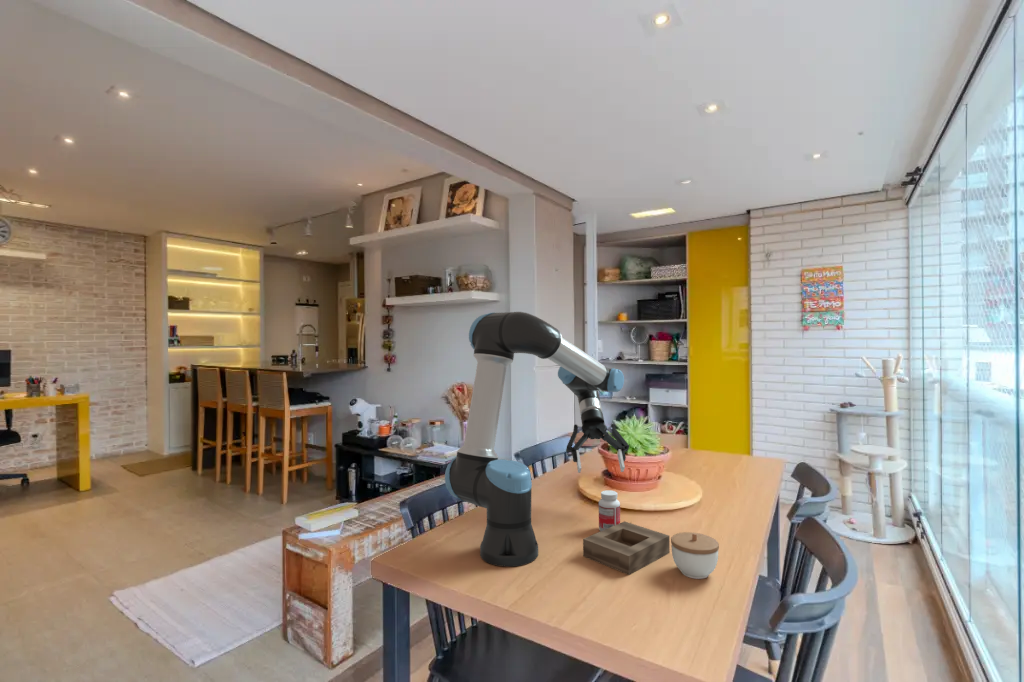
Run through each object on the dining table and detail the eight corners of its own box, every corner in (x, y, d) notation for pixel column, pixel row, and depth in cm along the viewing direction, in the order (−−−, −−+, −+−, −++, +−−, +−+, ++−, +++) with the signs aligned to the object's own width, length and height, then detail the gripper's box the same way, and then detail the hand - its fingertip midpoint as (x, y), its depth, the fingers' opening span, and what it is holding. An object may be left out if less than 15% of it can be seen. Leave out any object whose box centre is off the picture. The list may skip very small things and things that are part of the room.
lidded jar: (714, 588, 113) (714, 546, 113) (665, 576, 119) (665, 536, 119) (722, 569, 122) (722, 530, 122) (677, 559, 128) (677, 522, 128)
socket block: (629, 575, 120) (628, 556, 120) (583, 556, 130) (583, 538, 130) (669, 552, 132) (669, 535, 132) (624, 537, 142) (624, 521, 142)
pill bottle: (613, 525, 151) (612, 488, 151) (624, 532, 146) (624, 494, 145) (594, 528, 149) (594, 490, 149) (605, 535, 143) (605, 496, 143)
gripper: (625, 420, 176) (638, 475, 161) (554, 421, 175) (560, 476, 160) (629, 407, 171) (643, 463, 156) (556, 408, 170) (562, 464, 155)
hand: (601, 470), depth 158 cm, fingers open, 13 cm apart
